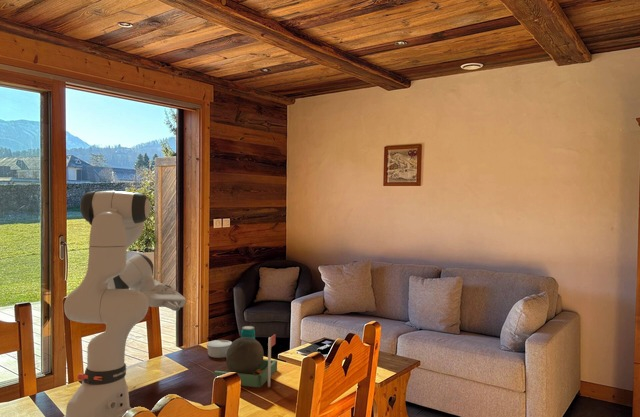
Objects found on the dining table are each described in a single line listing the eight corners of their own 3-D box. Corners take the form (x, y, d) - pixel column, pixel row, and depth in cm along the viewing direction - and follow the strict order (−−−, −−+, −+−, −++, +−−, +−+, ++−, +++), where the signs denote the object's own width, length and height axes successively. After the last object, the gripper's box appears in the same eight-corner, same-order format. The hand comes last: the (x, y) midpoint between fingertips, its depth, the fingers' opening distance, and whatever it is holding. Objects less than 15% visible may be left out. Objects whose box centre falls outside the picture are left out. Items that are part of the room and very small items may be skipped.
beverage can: (251, 365, 207) (252, 329, 207) (238, 364, 209) (239, 328, 208) (256, 361, 213) (257, 326, 213) (243, 360, 214) (244, 325, 214)
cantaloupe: (248, 385, 185) (249, 345, 185) (218, 378, 192) (218, 339, 191) (269, 374, 197) (270, 336, 197) (240, 368, 204) (241, 331, 204)
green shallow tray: (268, 388, 183) (269, 339, 182) (214, 382, 188) (214, 334, 187) (284, 371, 201) (285, 326, 201) (234, 366, 206) (235, 322, 206)
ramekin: (235, 352, 226) (236, 340, 226) (227, 359, 215) (227, 347, 215) (212, 350, 228) (212, 338, 228) (202, 357, 217) (202, 345, 217)
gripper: (138, 284, 192) (162, 301, 186) (174, 286, 211) (197, 302, 204) (131, 299, 192) (154, 316, 186) (167, 300, 211) (190, 316, 205)
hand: (177, 309), depth 195 cm, fingers closed
